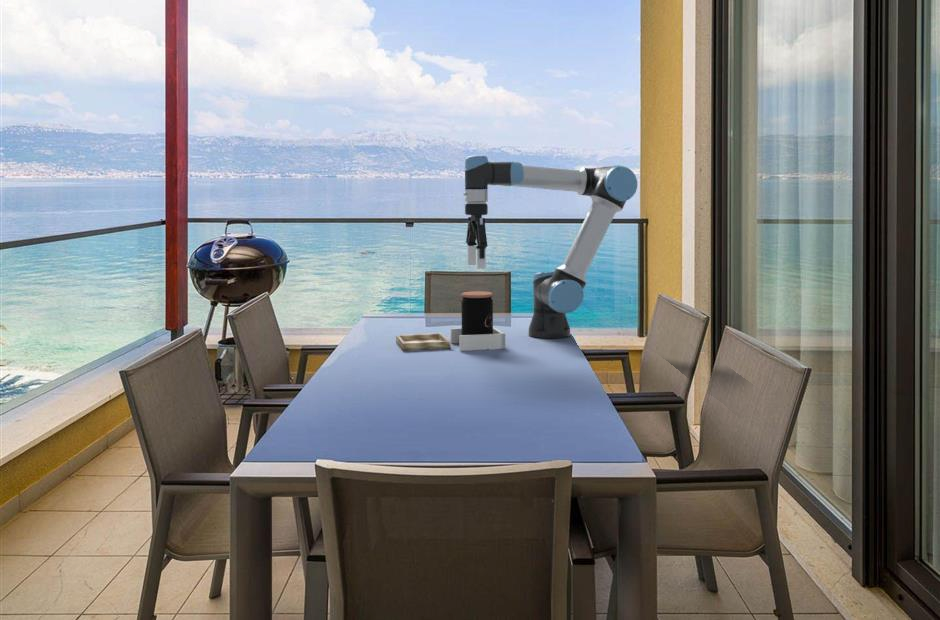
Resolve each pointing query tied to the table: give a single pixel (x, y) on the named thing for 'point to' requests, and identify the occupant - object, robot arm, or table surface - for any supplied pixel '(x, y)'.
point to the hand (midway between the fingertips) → (476, 266)
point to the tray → (422, 342)
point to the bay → (478, 340)
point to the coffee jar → (477, 313)
